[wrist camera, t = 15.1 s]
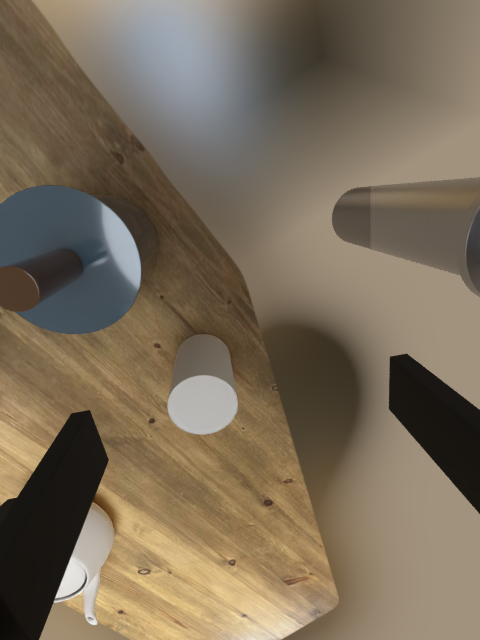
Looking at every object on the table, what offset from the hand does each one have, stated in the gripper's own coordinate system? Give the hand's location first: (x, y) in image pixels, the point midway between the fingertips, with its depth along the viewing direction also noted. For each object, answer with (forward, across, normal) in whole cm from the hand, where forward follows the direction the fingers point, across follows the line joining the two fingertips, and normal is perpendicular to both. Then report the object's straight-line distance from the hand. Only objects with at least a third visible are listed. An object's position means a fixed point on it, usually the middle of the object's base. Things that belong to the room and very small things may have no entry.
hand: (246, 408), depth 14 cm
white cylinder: (+32, -5, -13) cm, 35 cm away
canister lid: (+18, -13, +5) cm, 23 cm away
